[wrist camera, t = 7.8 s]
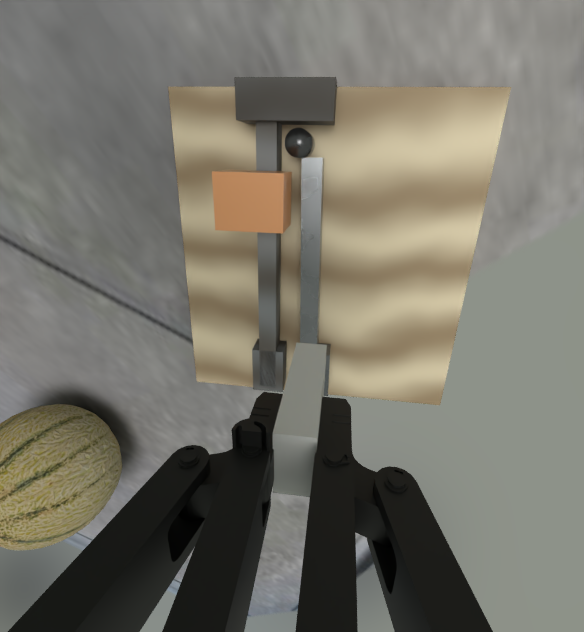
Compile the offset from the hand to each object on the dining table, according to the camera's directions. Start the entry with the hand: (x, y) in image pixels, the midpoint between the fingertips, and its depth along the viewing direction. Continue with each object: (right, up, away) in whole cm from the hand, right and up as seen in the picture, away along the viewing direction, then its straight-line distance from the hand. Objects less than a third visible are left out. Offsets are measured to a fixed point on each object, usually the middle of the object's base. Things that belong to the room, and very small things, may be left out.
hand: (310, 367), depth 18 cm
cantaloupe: (-27, -12, +29) cm, 42 cm away
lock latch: (-3, +12, +11) cm, 17 cm away
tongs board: (+2, +8, +16) cm, 18 cm away
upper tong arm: (+1, +7, +15) cm, 17 cm away
